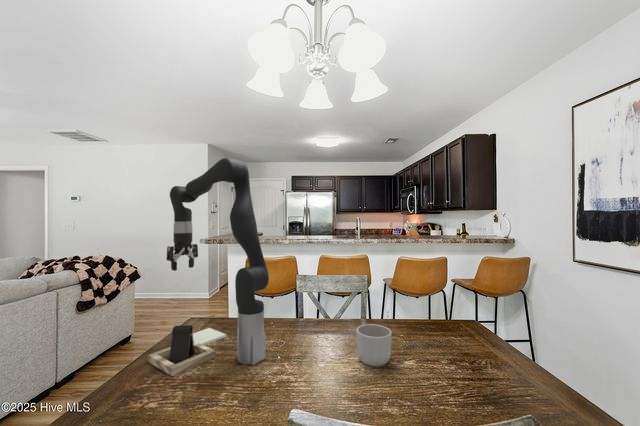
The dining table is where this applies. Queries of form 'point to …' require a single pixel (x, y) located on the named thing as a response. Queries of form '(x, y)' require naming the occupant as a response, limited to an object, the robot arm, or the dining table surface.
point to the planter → (374, 344)
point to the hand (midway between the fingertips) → (183, 269)
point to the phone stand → (181, 344)
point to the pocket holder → (175, 369)
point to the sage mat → (207, 336)
